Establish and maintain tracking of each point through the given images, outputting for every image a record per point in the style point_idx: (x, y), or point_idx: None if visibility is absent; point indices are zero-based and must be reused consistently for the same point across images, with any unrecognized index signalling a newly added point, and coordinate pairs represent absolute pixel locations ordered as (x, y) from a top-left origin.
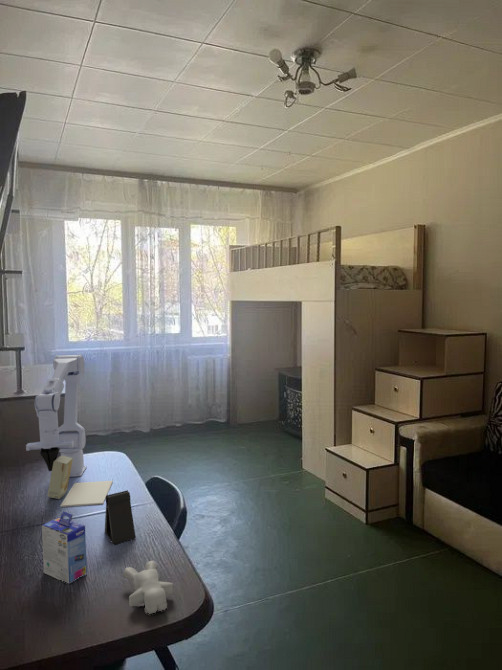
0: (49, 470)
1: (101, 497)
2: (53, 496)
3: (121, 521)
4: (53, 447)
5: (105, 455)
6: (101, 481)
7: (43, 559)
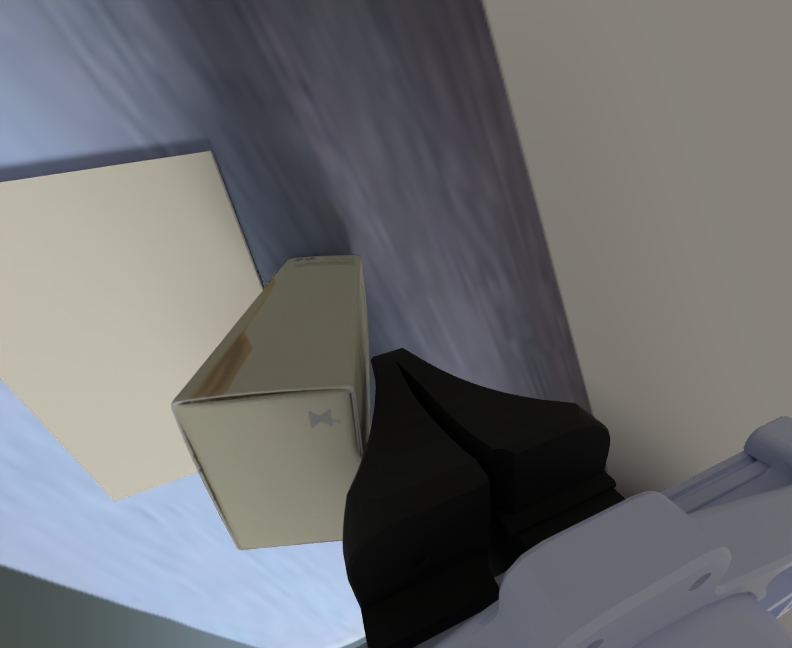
0: (398, 350)
1: None
2: (323, 257)
3: None
4: (461, 624)
5: (341, 627)
6: (178, 477)
7: None
